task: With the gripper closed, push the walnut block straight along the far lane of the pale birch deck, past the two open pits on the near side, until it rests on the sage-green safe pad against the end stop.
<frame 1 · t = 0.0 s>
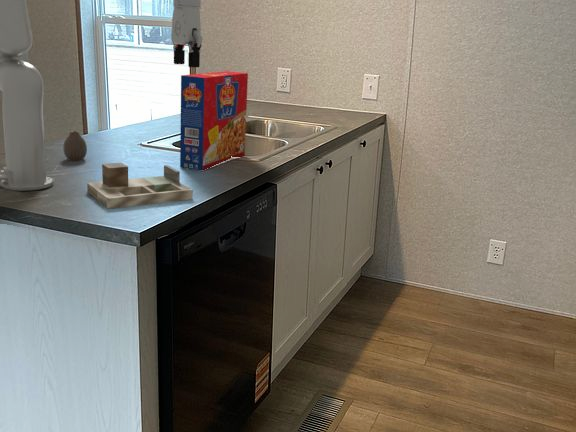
hand: (186, 65, 181), 31 cm above the worktop, tool pointing down, fingers open, 9 cm apart
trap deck: (140, 195, 163), on the worktop
pasta box: (214, 162, 207), on the worktop
walnut block: (115, 184, 162), point 2 cm above the worktop, touching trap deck
vase: (75, 160, 197), on the worktop
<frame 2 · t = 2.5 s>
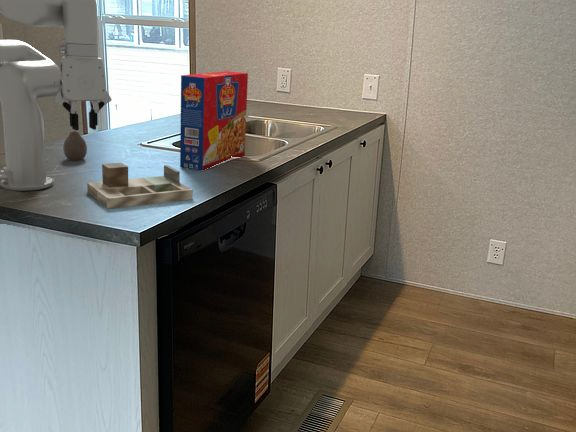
hand: (84, 128, 154), 17 cm above the worktop, tool pointing down, fingers open, 3 cm apart
nothing on the worktop moved.
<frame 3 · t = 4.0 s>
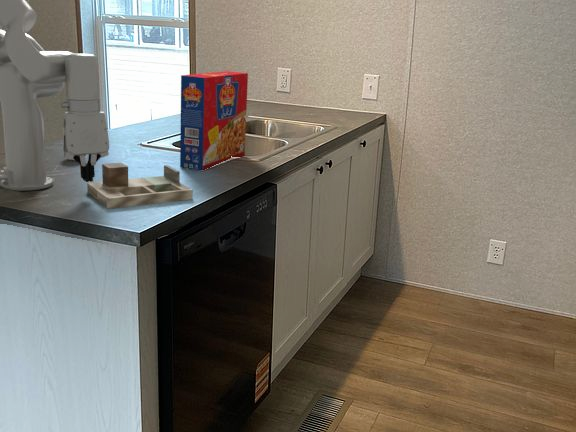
hand: (87, 180, 158), 4 cm above the worktop, tool pointing down, fingers closed
nothing on the worktop moved.
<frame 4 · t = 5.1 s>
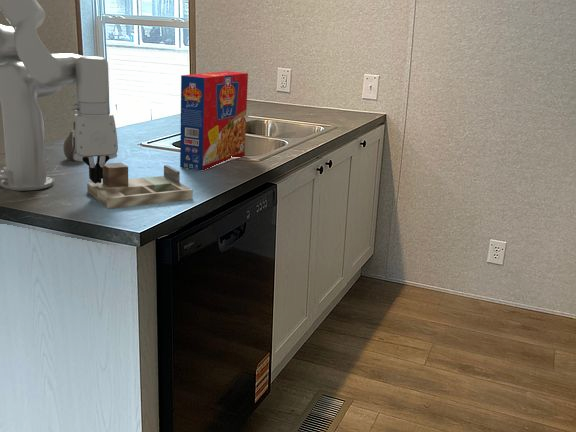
hand: (96, 181, 159), 4 cm above the worktop, tool pointing down, fingers closed
walnut block: (115, 184, 162), point 3 cm above the worktop, touching gripper, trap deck
everything else where it was.
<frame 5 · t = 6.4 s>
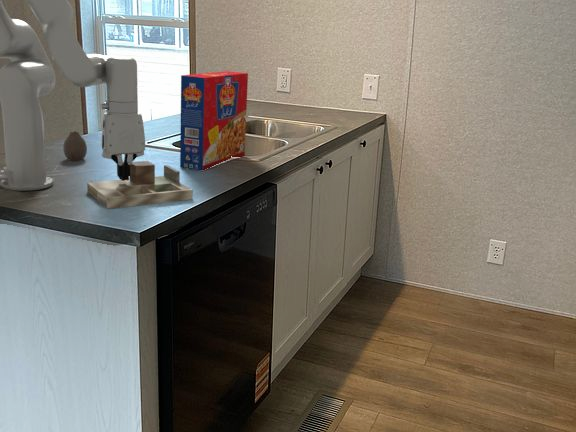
hand: (123, 179, 163), 4 cm above the worktop, tool pointing down, fingers closed
walnut block: (142, 182, 166), point 3 cm above the worktop, touching gripper, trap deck
everything else where it was.
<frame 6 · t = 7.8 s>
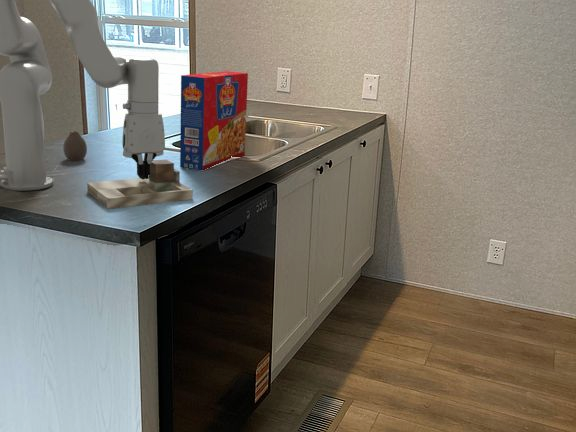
hand: (143, 177, 166), 4 cm above the worktop, tool pointing down, fingers closed
walnut block: (161, 180, 169), point 2 cm above the worktop, touching gripper, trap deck
everything else where it was.
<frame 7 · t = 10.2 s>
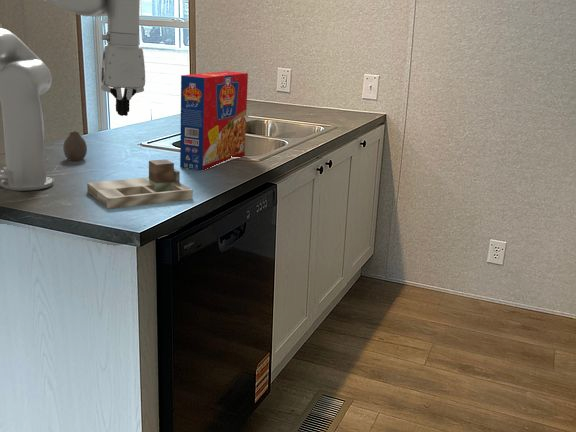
hand: (122, 114, 161), 20 cm above the worktop, tool pointing down, fingers closed
walnut block: (161, 180, 169), point 2 cm above the worktop, touching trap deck
everything else where it was.
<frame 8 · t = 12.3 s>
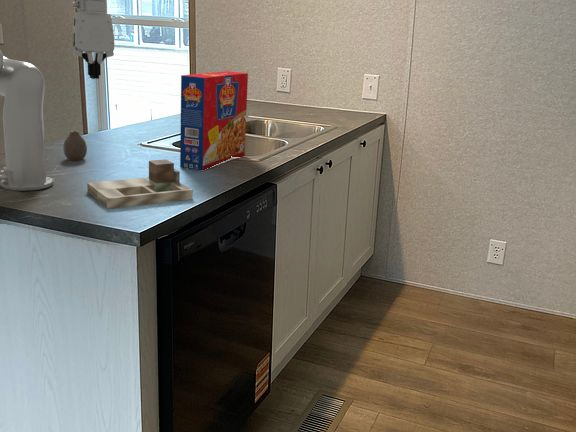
hand: (94, 78, 173), 27 cm above the worktop, tool pointing down, fingers closed
nothing on the worktop moved.
at the end: walnut block 0.5 cm from the target spot on the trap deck, point 2.5 cm above the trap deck's base; walnut block tilted 0° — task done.
